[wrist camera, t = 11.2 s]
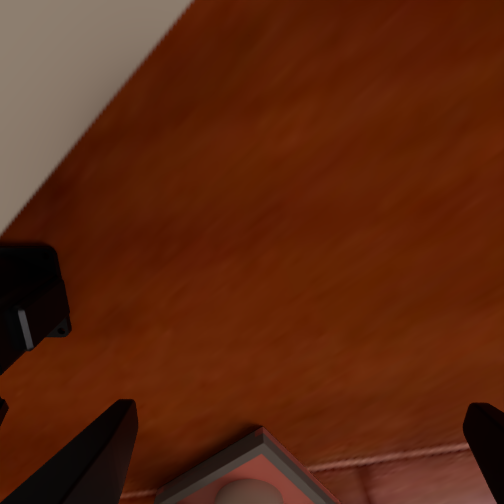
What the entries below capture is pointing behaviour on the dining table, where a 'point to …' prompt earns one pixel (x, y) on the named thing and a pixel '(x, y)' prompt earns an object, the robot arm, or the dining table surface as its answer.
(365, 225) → the dining table surface
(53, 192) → the dining table surface
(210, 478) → the lacquer tray
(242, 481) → the sake flask
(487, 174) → the dining table surface
